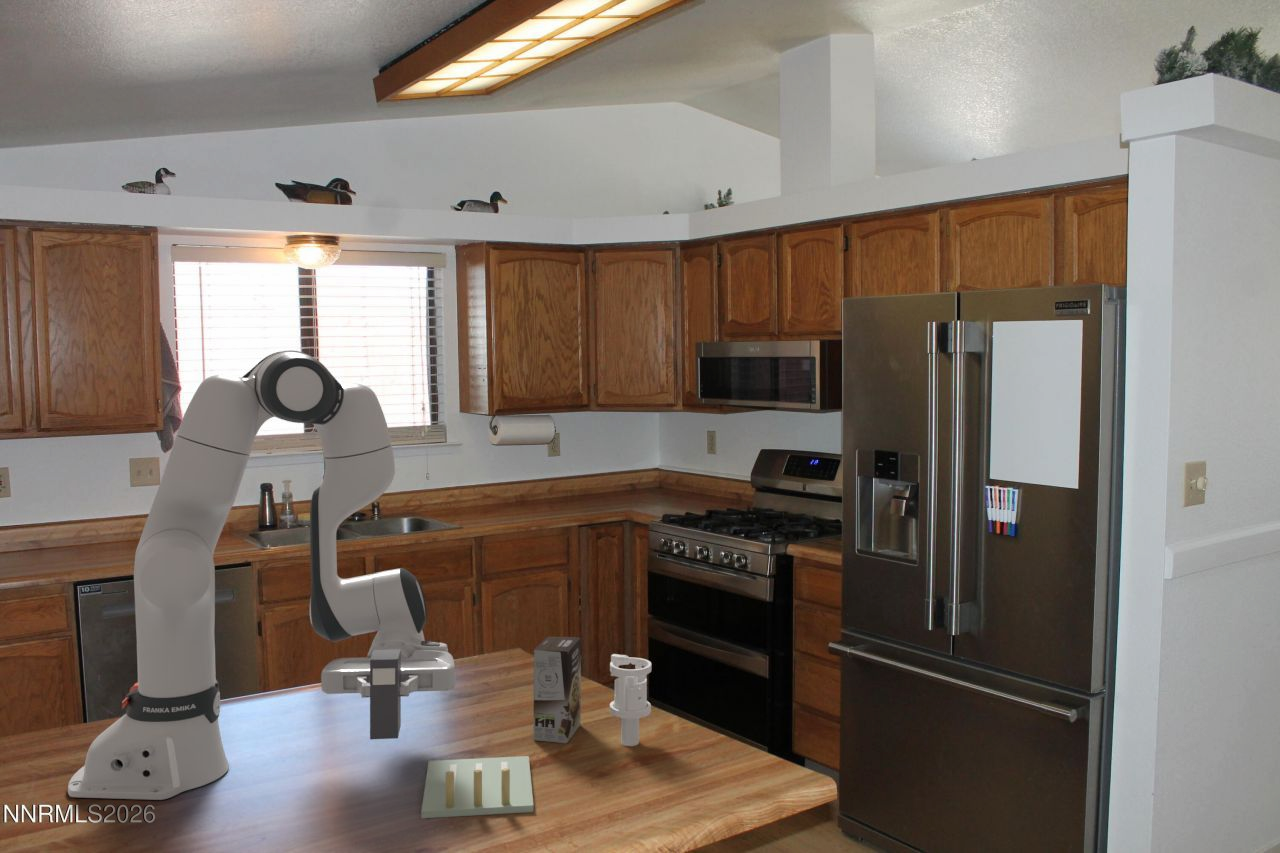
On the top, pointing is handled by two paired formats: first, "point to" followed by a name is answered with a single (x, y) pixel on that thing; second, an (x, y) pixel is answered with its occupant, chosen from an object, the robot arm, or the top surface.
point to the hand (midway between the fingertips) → (385, 692)
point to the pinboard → (477, 787)
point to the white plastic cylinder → (630, 695)
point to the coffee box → (557, 689)
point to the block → (385, 694)
